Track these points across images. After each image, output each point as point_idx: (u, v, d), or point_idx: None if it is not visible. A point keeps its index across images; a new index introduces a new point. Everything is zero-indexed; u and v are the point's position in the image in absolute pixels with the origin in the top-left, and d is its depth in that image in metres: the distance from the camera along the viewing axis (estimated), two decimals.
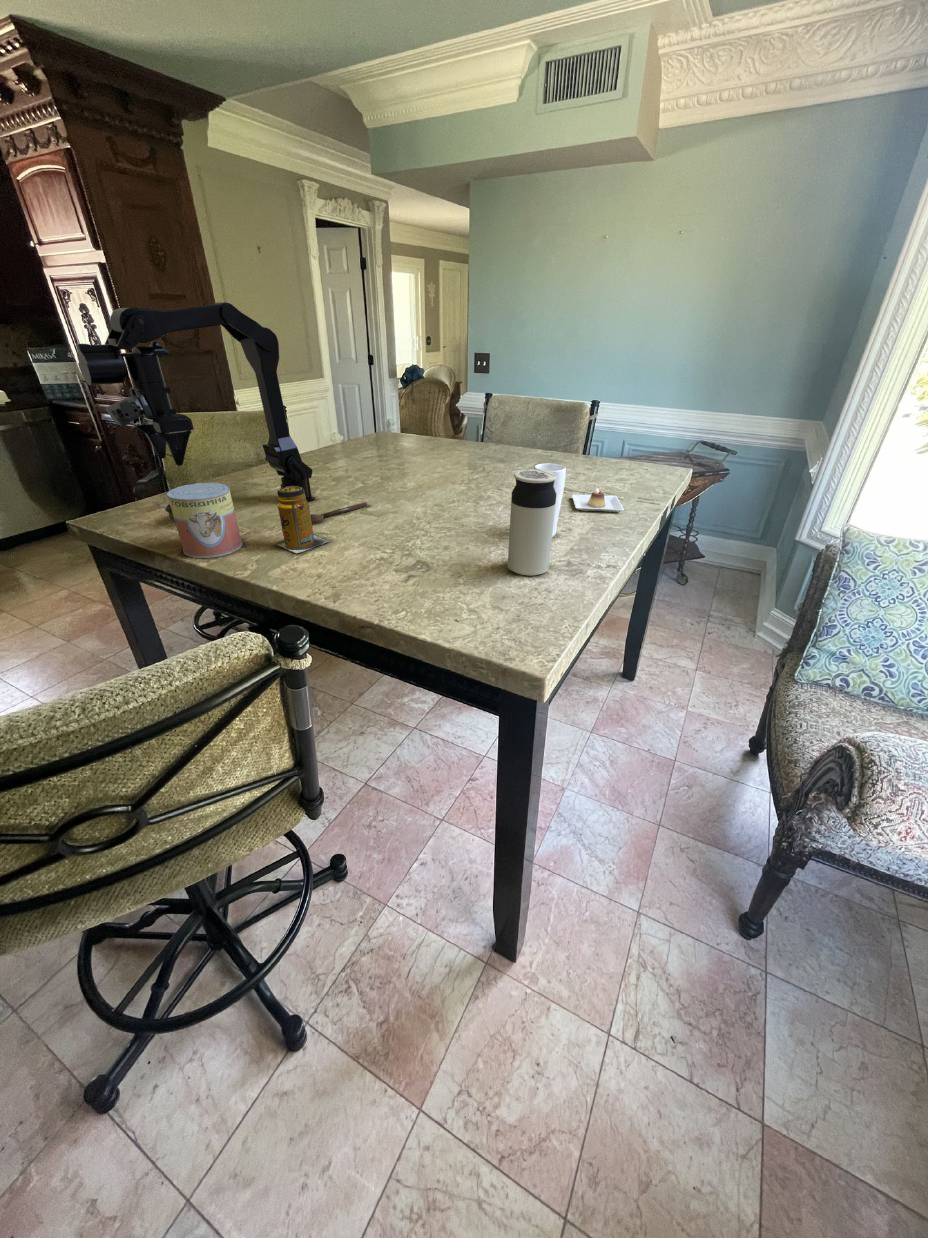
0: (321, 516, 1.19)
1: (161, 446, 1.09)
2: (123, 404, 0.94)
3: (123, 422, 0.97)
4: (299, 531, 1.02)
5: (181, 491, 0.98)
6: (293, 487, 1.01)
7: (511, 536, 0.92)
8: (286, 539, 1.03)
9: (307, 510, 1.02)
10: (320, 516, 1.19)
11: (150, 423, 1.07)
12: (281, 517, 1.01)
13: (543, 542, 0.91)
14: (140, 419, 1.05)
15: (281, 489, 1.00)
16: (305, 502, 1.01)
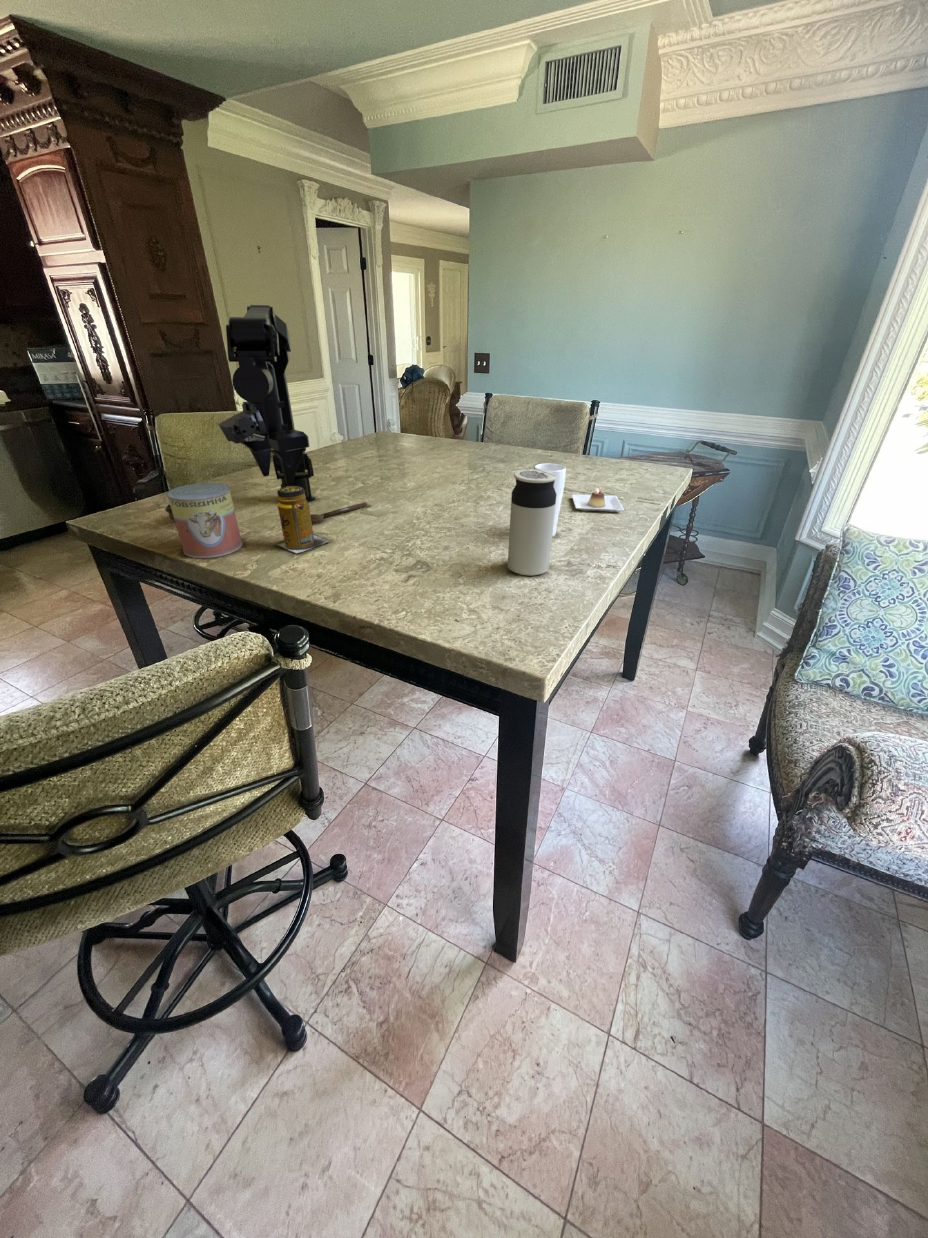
0: (321, 516, 1.19)
1: (265, 463, 1.03)
2: (241, 420, 0.88)
3: (238, 439, 0.90)
4: (299, 531, 1.02)
5: (181, 491, 0.98)
6: (293, 487, 1.01)
7: (511, 536, 0.92)
8: (286, 539, 1.03)
9: (307, 510, 1.02)
10: (320, 516, 1.19)
11: (256, 439, 1.00)
12: (281, 517, 1.01)
13: (543, 542, 0.91)
14: None
15: (281, 489, 1.00)
16: (305, 502, 1.01)
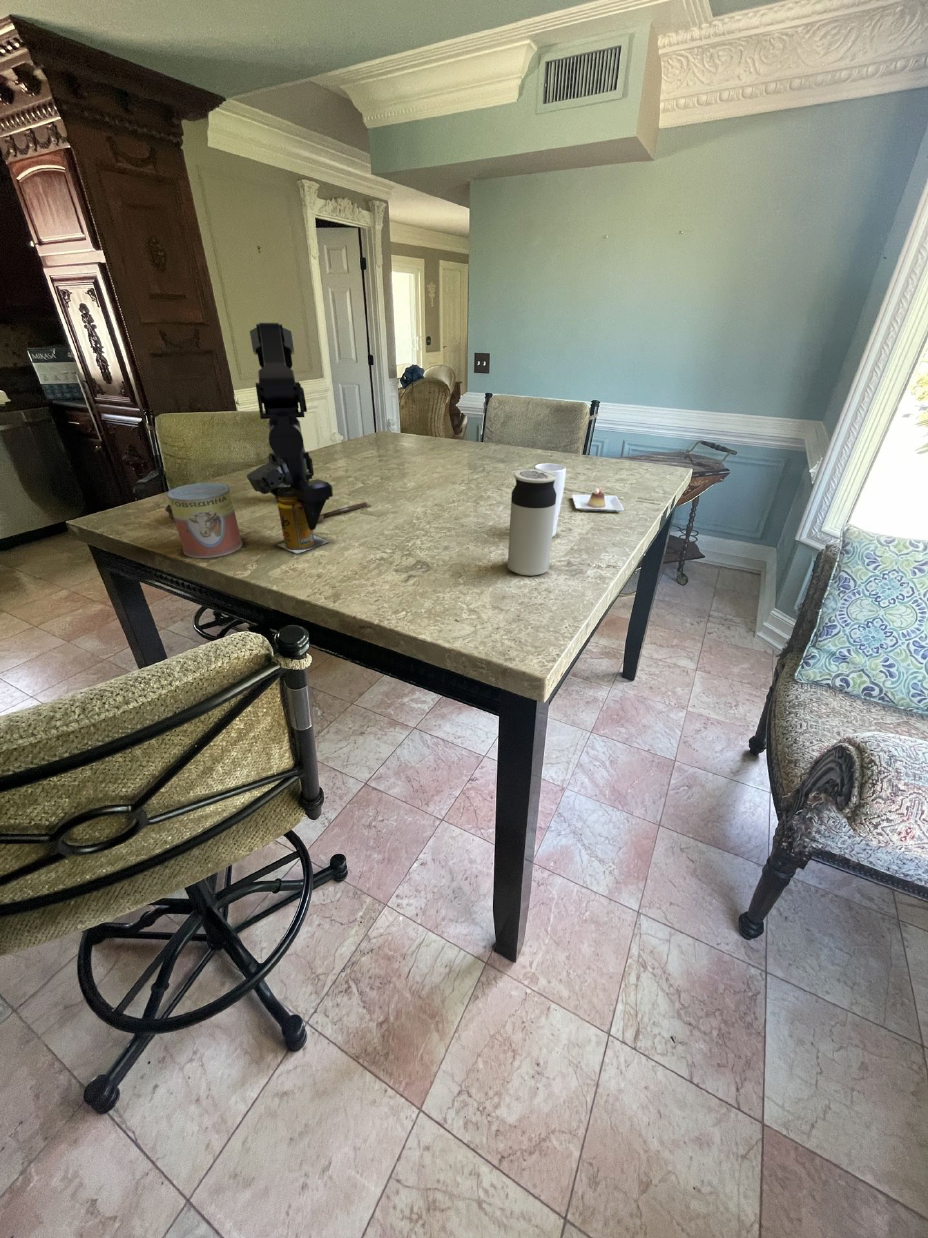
0: (321, 516, 1.19)
1: None
2: (270, 473, 0.92)
3: (266, 490, 0.94)
4: (299, 531, 1.02)
5: (181, 491, 0.98)
6: None
7: (511, 536, 0.92)
8: (286, 539, 1.03)
9: None
10: (320, 516, 1.19)
11: (280, 486, 1.04)
12: (281, 517, 1.01)
13: (543, 542, 0.91)
14: None
15: (281, 489, 1.00)
16: None
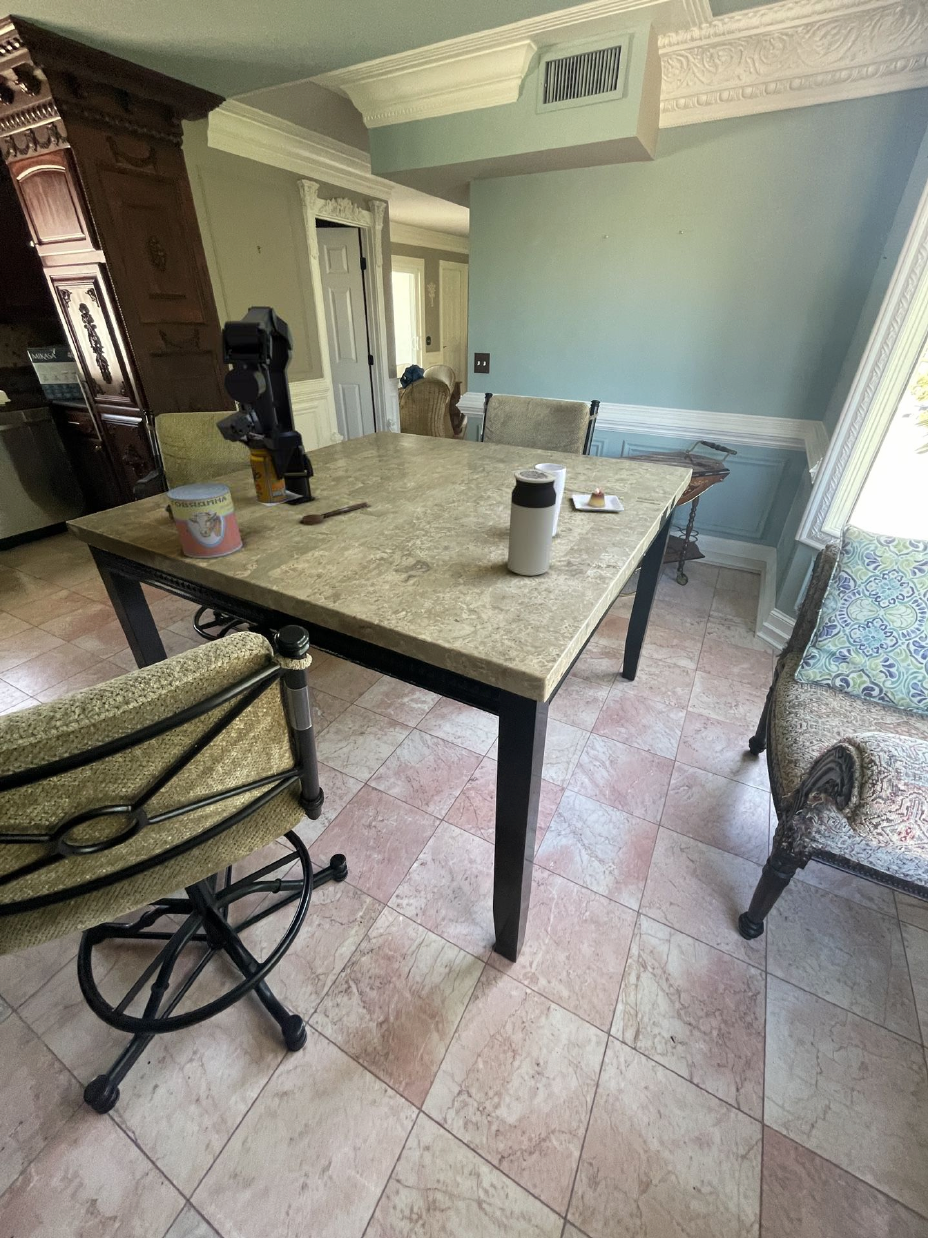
0: (321, 516, 1.19)
1: None
2: (238, 420, 0.92)
3: (235, 438, 0.95)
4: (271, 484, 1.03)
5: (181, 491, 0.98)
6: None
7: (511, 536, 0.92)
8: (258, 492, 1.04)
9: None
10: (320, 516, 1.19)
11: (255, 438, 1.04)
12: (253, 470, 1.02)
13: (543, 542, 0.91)
14: (246, 434, 1.02)
15: (253, 441, 1.01)
16: None
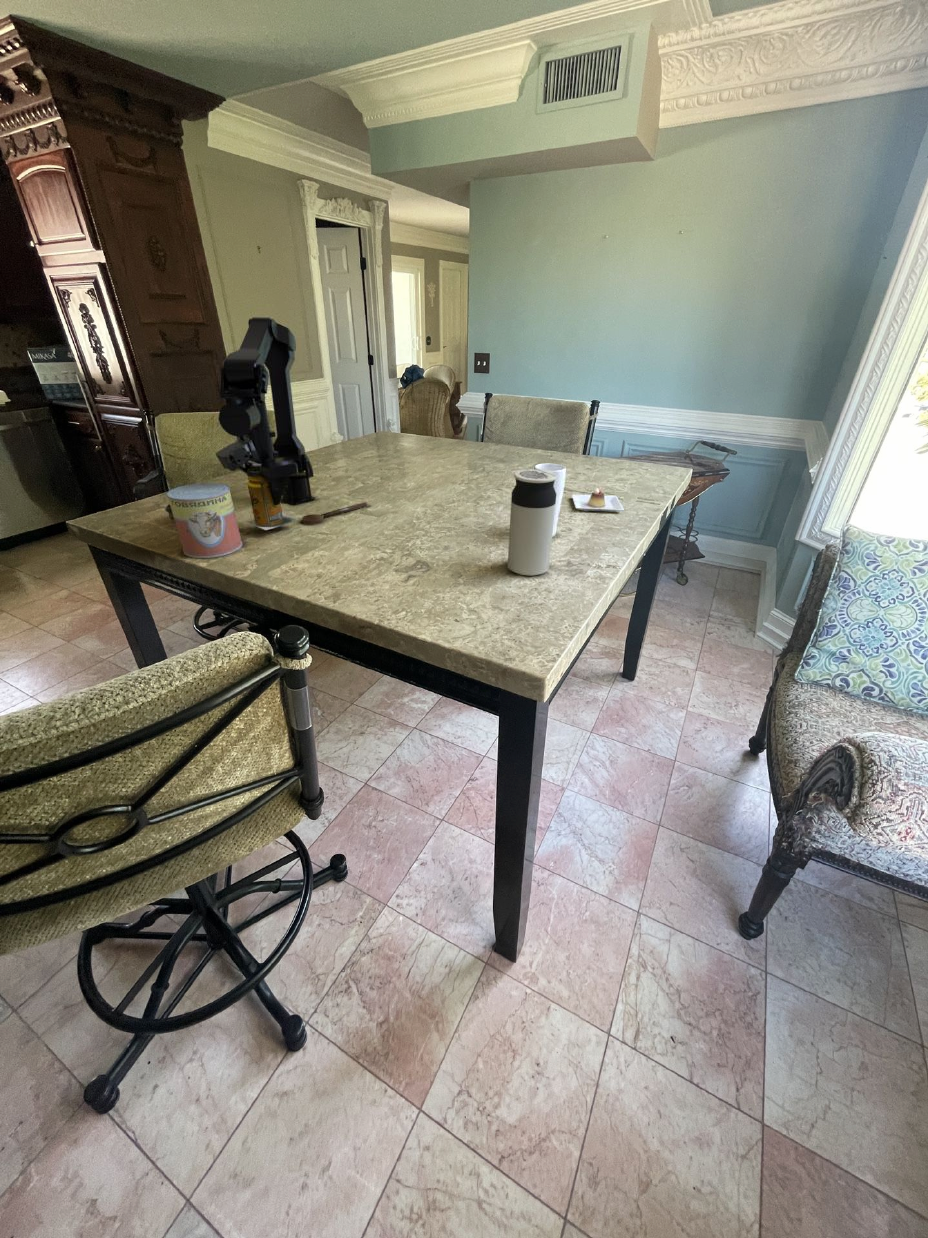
0: (321, 516, 1.19)
1: None
2: (236, 451, 0.97)
3: (233, 467, 1.00)
4: (268, 509, 1.08)
5: (181, 491, 0.98)
6: None
7: (511, 536, 0.92)
8: (255, 517, 1.09)
9: None
10: (320, 516, 1.19)
11: (253, 465, 1.09)
12: (251, 495, 1.07)
13: (543, 542, 0.91)
14: None
15: (250, 469, 1.06)
16: None
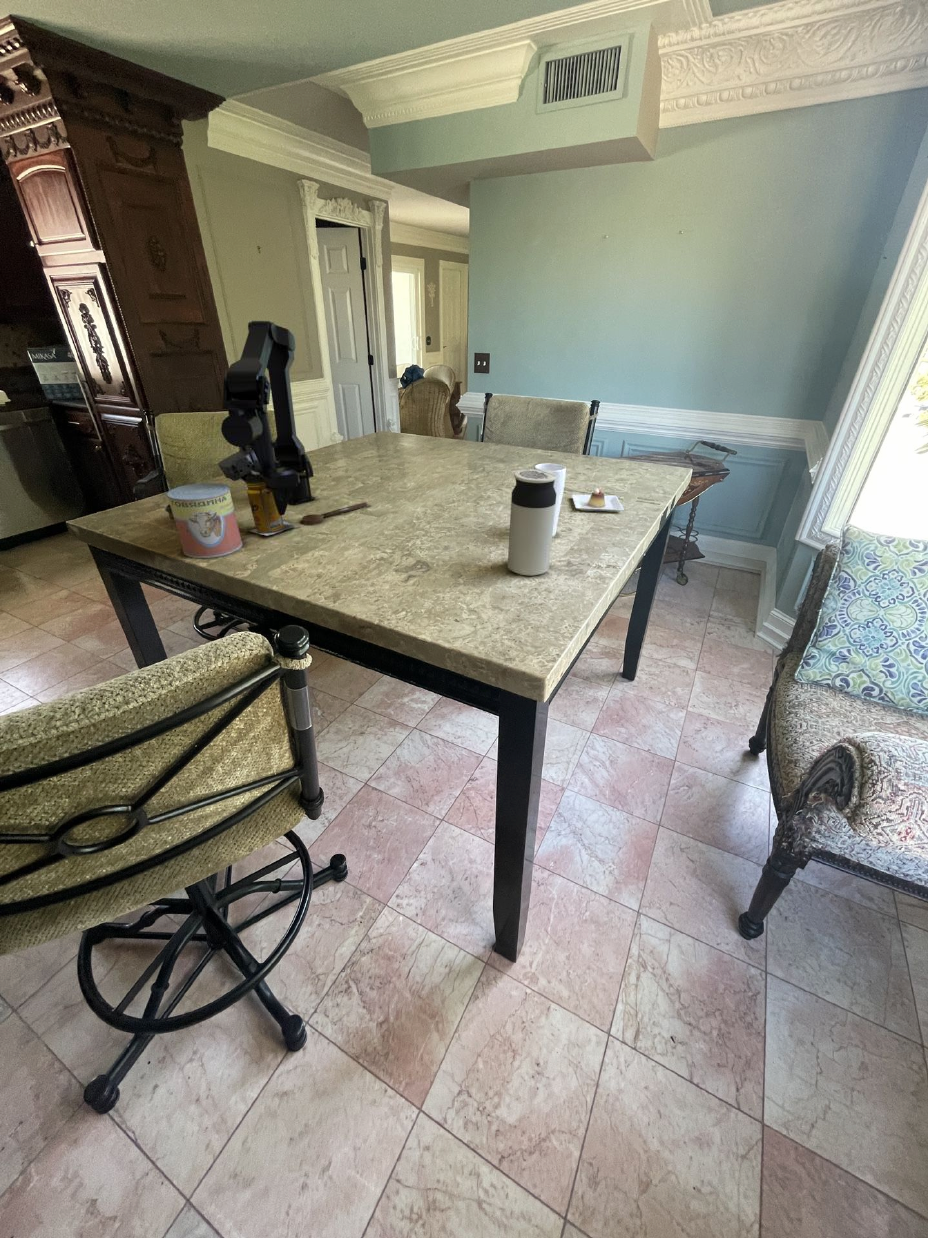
0: (321, 516, 1.19)
1: None
2: (238, 461, 0.98)
3: (236, 477, 1.01)
4: (268, 515, 1.09)
5: (181, 491, 0.98)
6: (260, 475, 1.09)
7: (511, 536, 0.92)
8: (256, 524, 1.10)
9: None
10: (320, 516, 1.19)
11: (252, 473, 1.11)
12: (250, 503, 1.08)
13: (543, 542, 0.91)
14: None
15: (249, 476, 1.07)
16: None
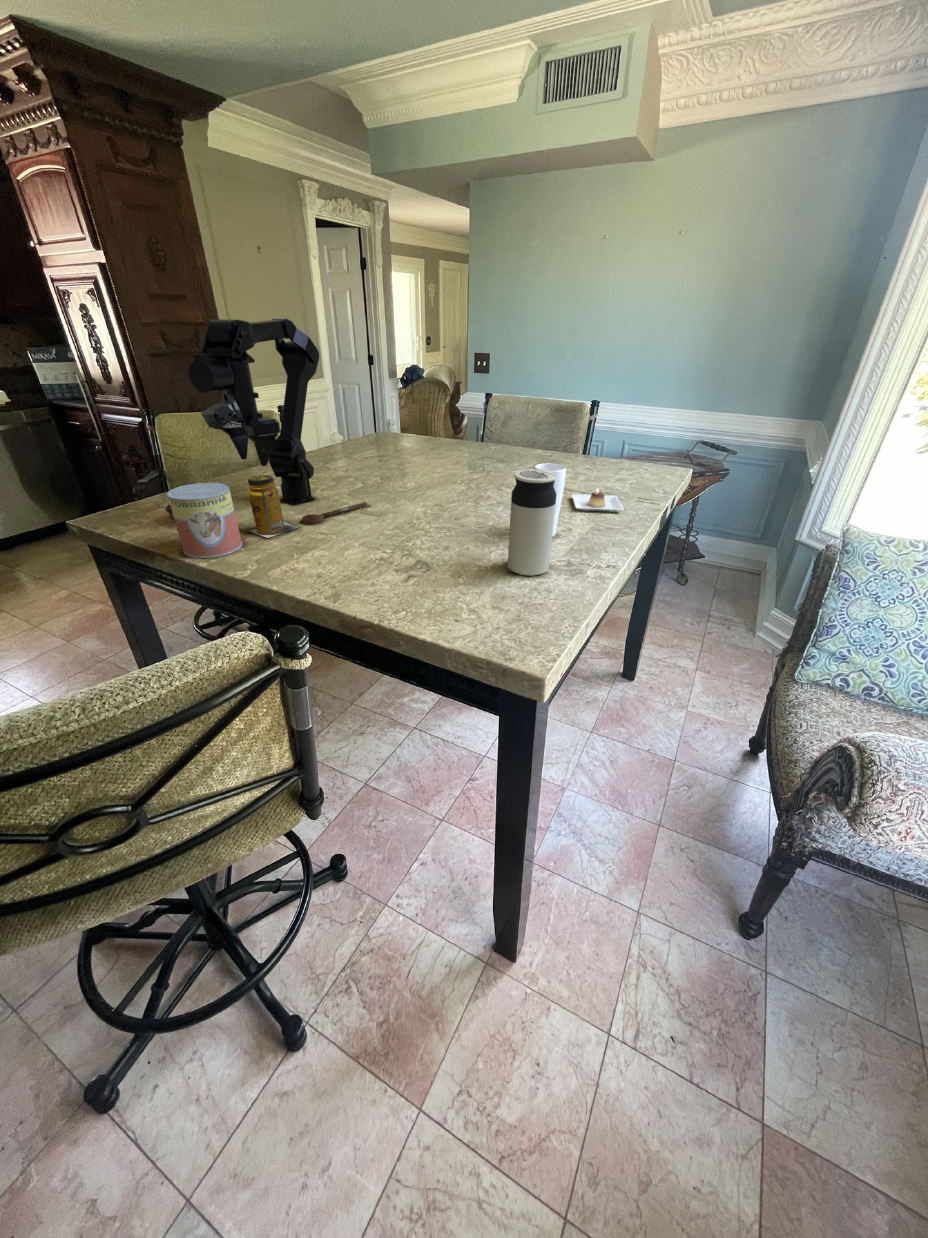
0: (321, 516, 1.19)
1: (243, 447, 1.16)
2: (220, 409, 1.01)
3: (218, 425, 1.04)
4: (269, 517, 1.09)
5: (181, 491, 0.98)
6: (263, 476, 1.08)
7: (511, 536, 0.92)
8: (257, 525, 1.10)
9: (276, 497, 1.09)
10: (320, 516, 1.19)
11: (235, 426, 1.14)
12: (252, 504, 1.08)
13: (543, 542, 0.91)
14: (226, 422, 1.12)
15: (251, 478, 1.07)
16: (274, 490, 1.08)
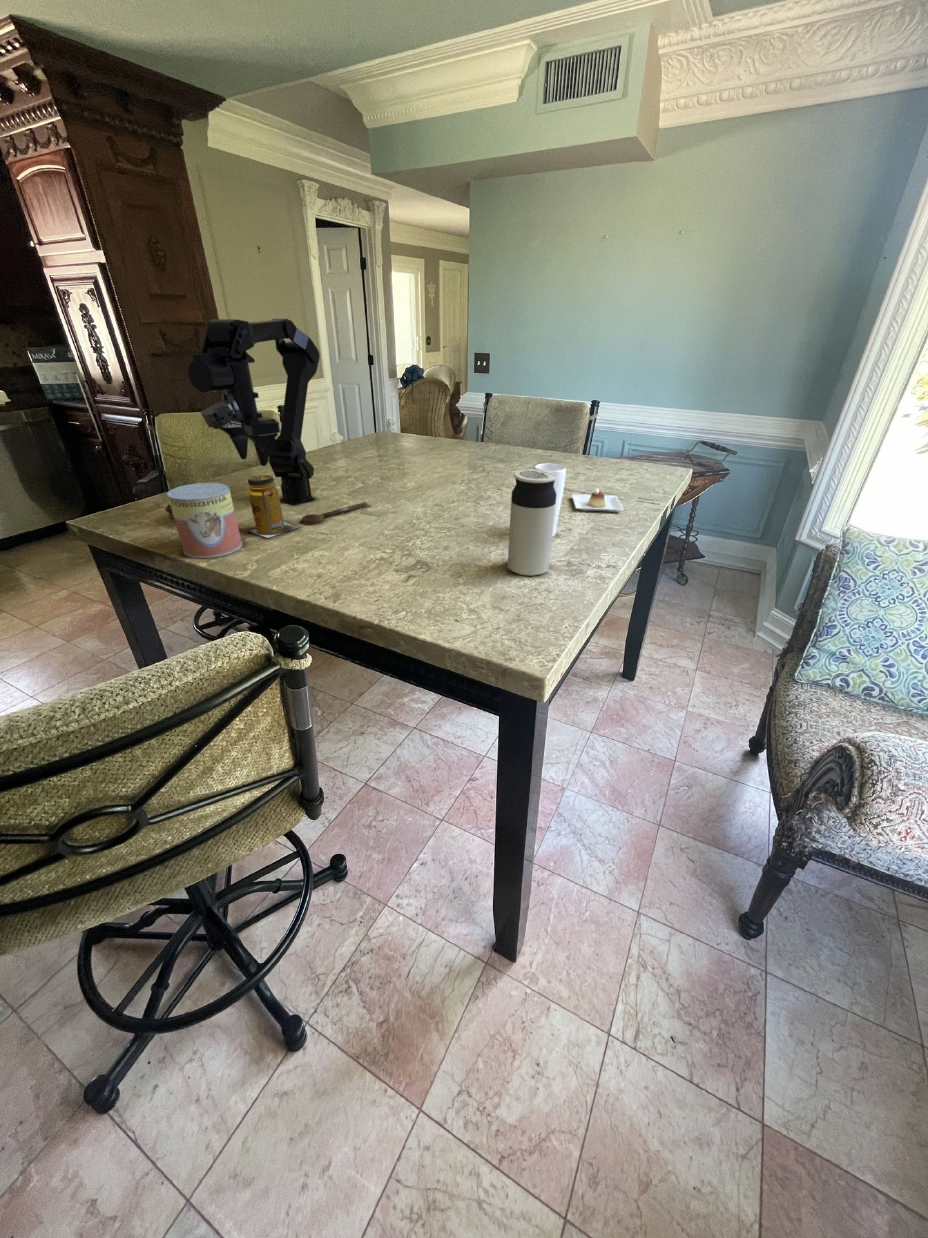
0: (321, 516, 1.19)
1: (243, 447, 1.16)
2: (220, 409, 1.01)
3: (217, 425, 1.04)
4: (269, 517, 1.09)
5: (181, 491, 0.98)
6: (263, 476, 1.08)
7: (511, 536, 0.92)
8: (257, 525, 1.10)
9: (276, 497, 1.09)
10: (320, 516, 1.19)
11: (234, 426, 1.14)
12: (252, 504, 1.08)
13: (543, 542, 0.91)
14: (226, 422, 1.12)
15: (251, 478, 1.07)
16: (274, 490, 1.08)
